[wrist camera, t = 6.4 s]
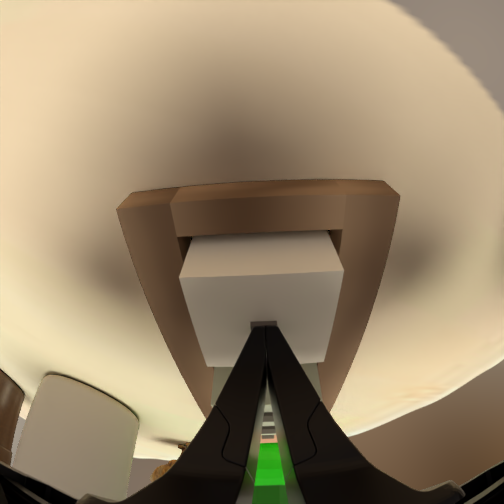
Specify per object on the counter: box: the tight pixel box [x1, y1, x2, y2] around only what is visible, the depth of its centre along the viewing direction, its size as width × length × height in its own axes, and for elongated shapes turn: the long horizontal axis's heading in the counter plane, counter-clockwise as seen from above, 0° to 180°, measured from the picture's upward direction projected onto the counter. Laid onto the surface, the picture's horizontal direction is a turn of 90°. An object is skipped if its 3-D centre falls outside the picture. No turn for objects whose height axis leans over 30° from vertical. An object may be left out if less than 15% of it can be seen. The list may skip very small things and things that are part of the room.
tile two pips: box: [211, 363, 323, 435], centre depth 13 cm, size 5×5×3 cm
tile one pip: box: [179, 230, 344, 367], centre depth 11 cm, size 5×5×3 cm
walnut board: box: [116, 180, 400, 419], centre depth 15 cm, size 10×21×2 cm, turn 3°
